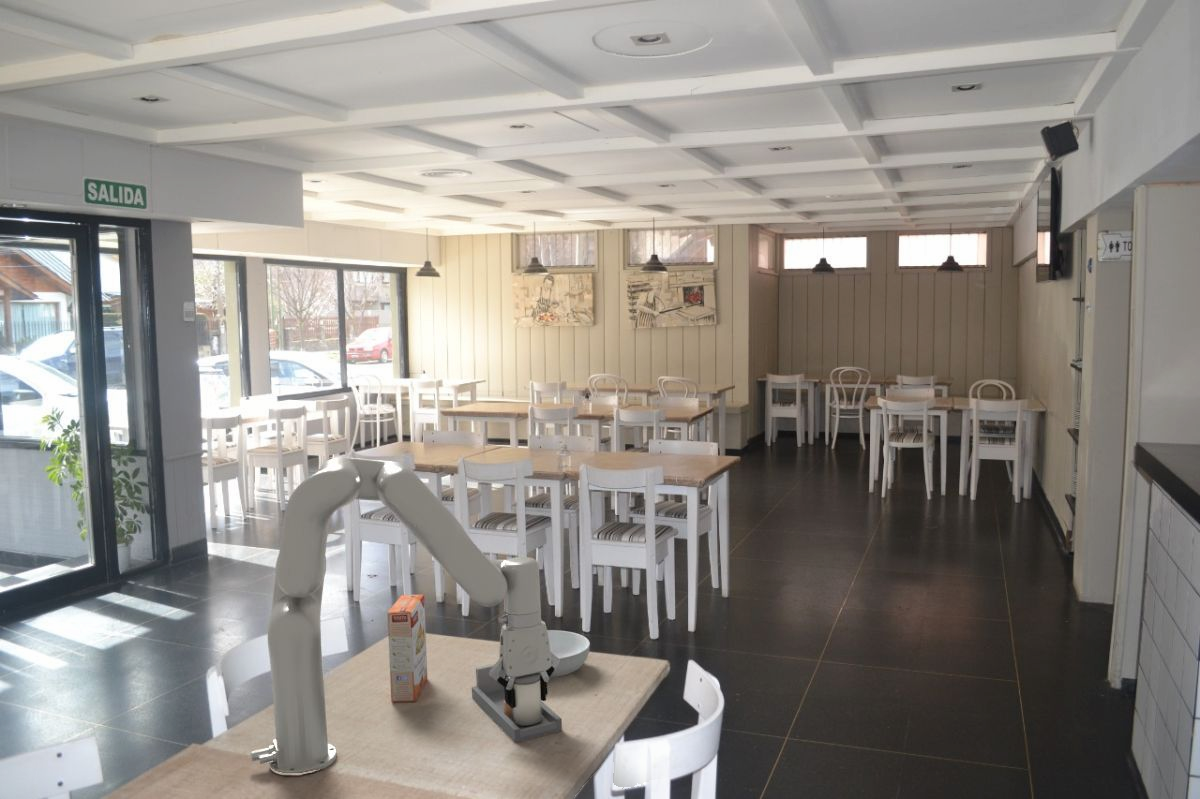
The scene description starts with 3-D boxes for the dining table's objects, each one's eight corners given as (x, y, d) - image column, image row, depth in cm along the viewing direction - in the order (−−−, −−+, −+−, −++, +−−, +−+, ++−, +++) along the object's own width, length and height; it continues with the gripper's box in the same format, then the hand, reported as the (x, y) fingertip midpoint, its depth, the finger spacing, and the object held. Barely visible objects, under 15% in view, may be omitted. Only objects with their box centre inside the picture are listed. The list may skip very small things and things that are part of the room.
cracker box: (417, 702, 210) (412, 611, 208) (390, 703, 210) (385, 612, 208) (429, 678, 224) (425, 593, 222) (404, 679, 224) (399, 594, 222)
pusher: (506, 719, 196) (505, 702, 196) (497, 710, 201) (496, 694, 201) (538, 711, 200) (537, 695, 199) (528, 703, 204) (527, 687, 204)
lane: (514, 742, 188) (513, 709, 187) (472, 698, 211) (470, 669, 211) (562, 730, 193) (560, 698, 192) (515, 688, 216) (513, 659, 215)
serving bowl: (582, 689, 214) (581, 660, 213) (494, 687, 217) (492, 658, 217) (597, 656, 235) (596, 630, 234) (516, 655, 238) (514, 628, 237)
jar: (519, 728, 191) (516, 681, 190) (508, 717, 197) (505, 671, 196) (546, 721, 194) (544, 675, 193) (535, 710, 199) (533, 666, 199)
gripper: (489, 630, 186) (493, 718, 188) (568, 615, 194) (571, 699, 195) (477, 620, 193) (481, 705, 194) (553, 606, 201) (557, 687, 202)
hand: (526, 701), depth 195 cm, fingers open, 6 cm apart
